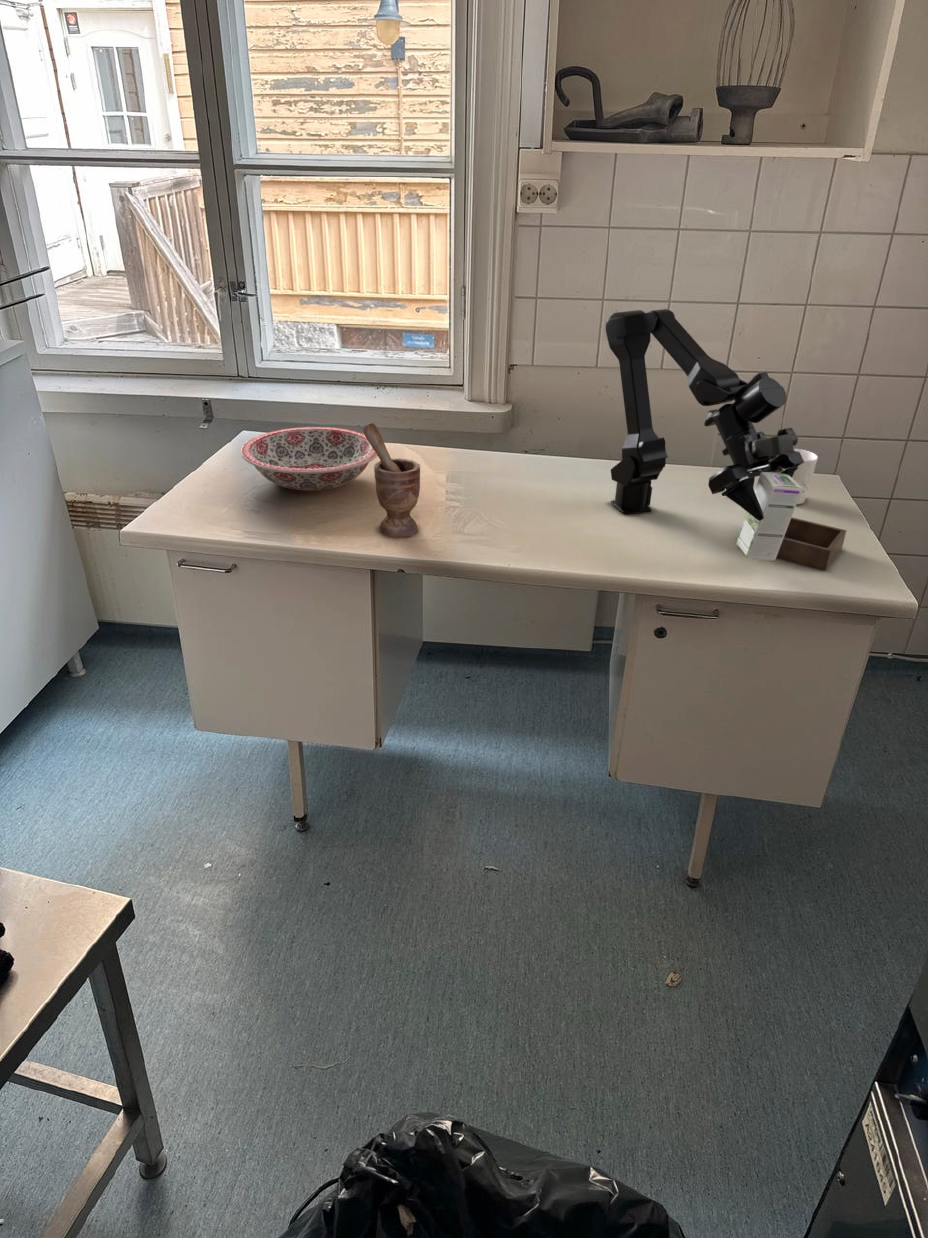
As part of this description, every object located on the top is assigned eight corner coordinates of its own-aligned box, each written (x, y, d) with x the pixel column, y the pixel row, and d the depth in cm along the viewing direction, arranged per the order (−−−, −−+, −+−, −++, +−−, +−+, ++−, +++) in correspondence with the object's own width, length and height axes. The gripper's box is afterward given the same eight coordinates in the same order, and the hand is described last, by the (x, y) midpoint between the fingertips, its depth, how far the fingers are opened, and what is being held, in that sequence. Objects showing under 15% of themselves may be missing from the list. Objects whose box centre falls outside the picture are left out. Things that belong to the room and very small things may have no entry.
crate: (741, 548, 172) (745, 529, 170) (761, 529, 180) (765, 510, 178) (825, 570, 164) (830, 550, 162) (841, 549, 173) (846, 530, 171)
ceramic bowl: (218, 479, 196) (214, 443, 192) (330, 452, 213) (328, 418, 209) (292, 520, 177) (290, 481, 173) (408, 487, 195) (408, 451, 191)
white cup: (807, 495, 197) (818, 451, 193) (807, 508, 191) (817, 462, 186) (770, 490, 200) (779, 446, 195) (768, 502, 193) (778, 457, 188)
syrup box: (775, 561, 161) (805, 487, 153) (745, 559, 160) (773, 484, 152) (762, 546, 166) (791, 473, 158) (733, 543, 165) (760, 470, 157)
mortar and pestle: (354, 534, 172) (351, 432, 163) (368, 517, 180) (366, 418, 170) (413, 541, 170) (413, 438, 161) (424, 523, 178) (425, 424, 168)
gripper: (733, 420, 148) (773, 506, 146) (807, 405, 158) (845, 486, 155) (690, 452, 158) (727, 533, 155) (762, 436, 167) (798, 512, 165)
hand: (776, 515), depth 157 cm, fingers closed on syrup box, 7 cm apart
